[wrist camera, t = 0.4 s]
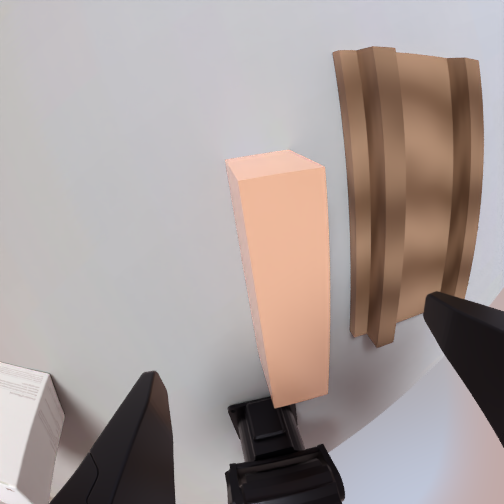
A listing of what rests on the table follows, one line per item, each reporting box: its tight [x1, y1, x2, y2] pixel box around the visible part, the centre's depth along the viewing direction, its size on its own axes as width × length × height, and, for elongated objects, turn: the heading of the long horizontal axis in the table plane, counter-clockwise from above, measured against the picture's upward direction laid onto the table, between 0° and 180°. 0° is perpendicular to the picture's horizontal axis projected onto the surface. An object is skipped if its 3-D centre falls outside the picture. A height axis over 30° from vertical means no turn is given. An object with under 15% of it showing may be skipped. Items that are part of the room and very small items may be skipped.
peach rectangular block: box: [225, 150, 330, 408], centre depth 20 cm, size 16×4×6 cm, turn 8°
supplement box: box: [0, 362, 65, 504], centre depth 18 cm, size 7×7×13 cm
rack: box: [333, 46, 484, 348], centre depth 21 cm, size 22×12×3 cm, turn 9°
